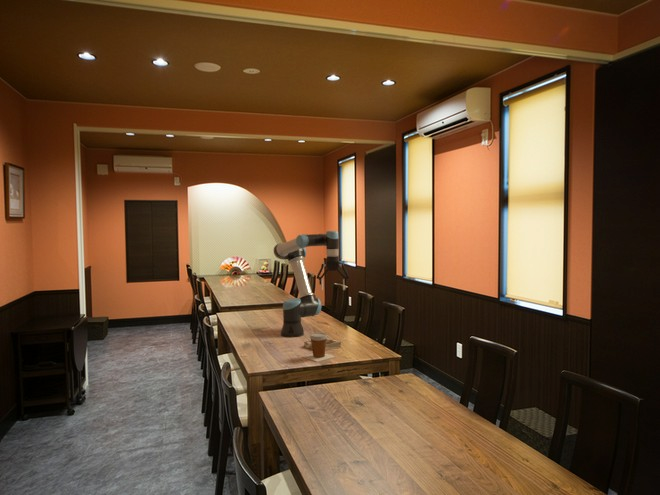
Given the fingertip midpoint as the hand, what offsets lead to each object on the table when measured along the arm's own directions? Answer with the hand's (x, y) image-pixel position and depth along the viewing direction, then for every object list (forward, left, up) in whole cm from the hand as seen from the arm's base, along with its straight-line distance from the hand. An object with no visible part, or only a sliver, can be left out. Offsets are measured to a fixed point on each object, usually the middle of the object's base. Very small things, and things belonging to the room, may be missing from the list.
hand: (333, 289), depth 291 cm
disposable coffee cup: (+22, -30, -31) cm, 49 cm away
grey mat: (+22, -30, -32) cm, 49 cm away
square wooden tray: (+7, -15, -32) cm, 36 cm away
